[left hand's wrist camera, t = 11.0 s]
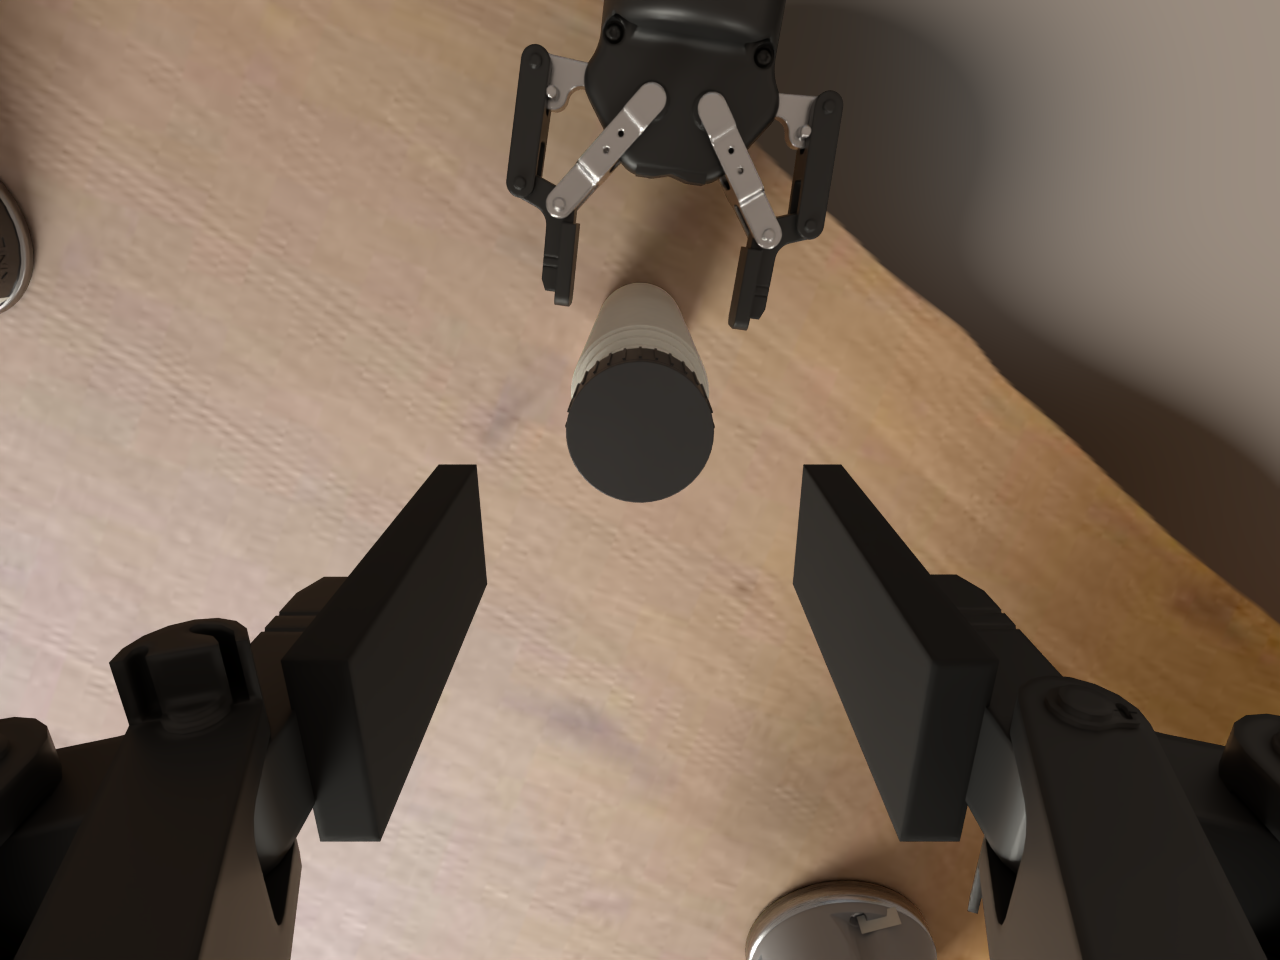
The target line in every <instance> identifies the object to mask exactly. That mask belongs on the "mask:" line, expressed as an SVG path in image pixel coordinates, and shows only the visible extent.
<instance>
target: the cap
mask: <svg viewBox="0 0 1280 960" xmlns="http://www.w3.org/2000/svg"><path fill="white" fill-rule="evenodd" d="M567 412H569V414H568V418H567V422H566V425H565V427H566V439H567V445H568V449H569V453H570V456H571V458H572V460H573V463H574V465H575V466H576V468H577V469H578V471H579V472H580V474H581V475H582V476H583V477H584V479H585V480H586V481H588V482H589V483H590V484H591V485H592V486H593V487H595V488H596V489H597V490H599V491H600V492H602V493H604V494H606V495H608V496H610V497H613V498H615V499H619V500H622V501H628V502H639V503H644V502H653V501H657V500H662V499H664V498H667V497H670V496H672V495H674V494H676V493H678V492H680V491H681V490H683V489H684V488H686V487H687V486H688V485H689V484H690V483H692V482H693V481H694V480H695V478H696V477H697V476H698V475H699V474H700V472H701V471H702V469H703V468H704V466H705V464H706V462H707V460H708V458H709V456H710V453H711V450H712V445H713V438H714V428H715V426H714V423H713V419H712V414H711V413H713V411H712V408H711V405H710V403H709V400H708V397H707V394H706V392H705V389H704V386H703V384H700V383H699V381H698V379H697V376H696V374H695V372H694V371H693V372H692V371H691V370H690V369H689V368H688V367H687V366H686V365H685V362H684V361H682V362H681V361H680V360H678V359H677V358H675V357H673V356H672V354H671V353H669V354H667V353H665V352H662V351H658V350H657V348H654V349H649V348H642V346H639V348H632V349H626V348H624V349H623V350H621V351H618V352H615V353H613V354H612V353H609V356H607V357H605V358H603V359H602V360H600V361H598V360H597V361H596V363H595V365H594V366H593V367H592V368H591V369H590V370H589V371H586V372H585V374H584V377H583V379H582V381H581V383H578V384H577V386H576V389H575V392H574V395H573V397H572V400H571V402H570V405H569V408H568V411H567Z"/></svg>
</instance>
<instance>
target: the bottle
mask: <svg viewBox="0 0 1280 960" xmlns="http://www.w3.org/2000/svg"><path fill="white" fill-rule="evenodd" d="M639 346H642V348H649V349H654V348H657V350H658V351H662V352H665V353H667V354H669V353H671V354H672V356H673V357H675V358H677V359H678V360H680V361H681V362H682V361H684V362H685V365H686V366H687V367H688V368H689V369H690V370H691V371H692V372H693V371H694V372H695V374H696V376H697V379H698V381H699V383H700V384H703V386H704V389H705V392H706V394H707V397H708V398H709V386H708V379H707V374H706V371H705V369H704V366H703V363H702V361H701V359H700V356H699V354H698V352H697V349H696V347H695V344H694V342H693V340H692V337H691V335H690V333H689V330H688V328H687V326H686V323H685V321H684V319H683V316H682V314H681V311H680V309H679V307H678V305H677V303H676V302H675V300H674V299H673V298H672V297H671V296H670V294H668V293H667V292H666V291H665V290H663V289H662V288H660V287H658V286H656V285H652V284H649V283H631V284H627V285H625V286H622V287H620V288H618V289H617V290H615V291H614V292H613V293H612V294H611V295H610V296H609V297H608V298H607V299H606V300H605V302H604V303H603V305H602V307H601V309H600V312H599V314H598V316H597V319H596V321H595V323H594V326H593V328H592V331H591V333H590V335H589V338H588V340H587V342H586V345H585V347H584V349H583V352H582V354H581V357H580V359H579V361H578V364H577V366H576V369H575V371H574V375H573V379H572V386H571V398H572V397H573V395H574V392H575V389H576V386H577V384H578V383H581V381H582V379H583V377H584V374H585V372H586V371H589V370H590V369H591V368H592V367H593V366H594V365H595V363H596V361H597V360H598V361H600V360H602V359H603V358H605V357H607V356H609V353H612V354H613V353H615V352H618V351H621V350H623V349H624V348H626V349H632V348H639Z"/></svg>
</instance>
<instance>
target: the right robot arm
mask: <svg viewBox="0 0 1280 960" xmlns="http://www.w3.org/2000/svg"><path fill="white" fill-rule="evenodd" d="M785 2H786V0H604V6H603V16H602V25H601V35H600V40H599V43H598V46H597V49H596V51H595V53H594V55H593V56H592V58H591V59H590V61H589V62H588V63H587V62H582V61H578V60H574V59H569V58H565V57H561V56H556V55H552V54H549V53H548V52H547V50H546V49H545V48H544V47H542V46H541V45H538V44H532V45H529V46H527V47H526V48H525V49H524V51H523V53H522V56H521V64H520V72H519V81H518V89H517V97H516V105H515V114H514V122H513V130H512V138H511V147H510V155H509V163H508V171H507V180H506V184H507V188H508V190H509V192H510V193H511V194H512V195H514V196H515V197H518V198H521V199H523V200H524V201H526V202H528V203H530V204H532V205H534V206H535V207H537V208H539V209H540V210H541V211H542V213H543V214H544V216H545V219H546V236H545V248H544V260H543V272H542V281H543V284H544V288H545V290H547V291H554V292H555V298H554V304H555V305H562V306H570V305H571V303H572V298H573V289H574V279H575V269H576V259H577V249H578V239H579V230H580V224H579V223H576V215H577V210H578V209H579V208H580V207H581V206H582V205H583V204H584V203H585V201H586V200H587V199H588V198H589V197H590V196H591V195H592V194H593V193H594V191H595V190H596V189H597V188H598V187H599V186H600V185H601V184H602V183H603V182H604V181H605V180H606V179H607V178H608V177H609V176H610V175H611V174H612V173H613V171H614V170H615V169H616V168H617V167H618V166H619V165H620V164H622V165H623V166H624V167H625V168H626V169H627V170H628V171H630V172H631V173H633V174H635V175H636V176H638V177H645V178H651V179H652V178H660V177H667V176H669V177H672V178H674V179H676V180H678V181H680V182H683V183H685V184H691V185H698V186H702V185H704V184H708V183H711V182H714V181H716V180H718V181H719V183H720V185H721V187H722V189H723V191H724V193H725V195H726V197H727V199H728V201H729V203H730V204H731V206H732V207H733V209H734V211H735V213H736V215H737V217H738V219H739V221H740V223H741V226H742V228H743V230H744V232H745V234H746V236H747V238H748V240H747V246H746V247H741V251H740V257H739V262H738V268H737V273H736V279H735V284H734V290H733V295H732V301H731V306H730V312H729V319H728V324H729V326H730V327H731V328H732V329H739V330H747V328H748V325H749V321H750V318H752V319H759V318H760V317H761V315H762V314H763V312H764V310H765V307H766V302H767V296H768V292H769V287H770V282H771V277H772V272H773V267H774V262H775V257H776V254H777V252H778V251H779V250H780V249H781V248H782V247H783V246H784V245H786V244H789V243H794V242H798V241H803V240H807V239H808V240H810V239H814V238H816V237H818V236H819V235H820V234H821V232H822V231H823V228H824V222H825V216H826V210H827V204H828V197H829V191H830V185H831V179H832V172H833V166H834V160H835V154H836V148H837V141H838V135H839V129H840V123H841V116H842V110H843V101H842V98H841V96H840V95H839V94H838V93H837V92H835V91H825V92H823V93H822V94H820V95H819V96H805V95H793V94H782V93H779V92H778V89H777V86H776V81H775V73H774V65H775V58H776V52H777V46H778V41H779V36H780V30H781V24H782V19H783V13H784V8H785ZM582 89H583V90H585V91H586V93H587V96H588V98H589V101H590V103H591V105H592V107H593V109H594V111H595V113H596V115H597V117H598V119H599V121H600V123H601V125H602V127H603V129H604V131H603V132H602V133H601V134H600V135H599V136H598V137H597V139H596V140H595V141H594V142H593V143H592V144H591V145H590V147H589V148H588V149H587V150H586V151H585V152H584V153H583V154H582V156H581V157H580V158H579V159H578V161H577V162H576V164H575V165H574V166H573V168H572V169H571V170H570V171H569V172H568V173H567V174H566V176H565V177H564V178H563V179H562V180H561V181H560V182H559V183H558V185H557V186H556V185H554V184H552V183H551V182H549V181H547V180H545V179H543V178H542V174H543V167H544V159H545V152H546V145H547V137H548V130H549V123H550V116H551V112H555V113H557V112H561V111H563V110H564V109H565V108H566V107H567V105H568V102H569V99H570V96H571V95H572V94H573V93H574V92H575V91H577V90H582ZM774 120H777V121H779V122H780V123H781V124H782V125H783V127H784V131H785V141H786V143H787V145H788V146H789V147H790V148H792V149H794V150H797V153H796V160H795V167H794V174H793V181H792V188H791V195H790V202H789V209H788V214H787V215H782V216H778V217H775V215H774V212H773V210H772V208H771V206H770V204H769V202H768V199H767V197H766V195H765V192H764V187H763V184H762V182H761V179H760V177H759V175H758V173H757V171H756V168H755V166H754V164H753V162H752V160H751V158H750V155H749V153H748V151H747V149H748V148H749V147H750V146H751V145H752V144H753V143H754V142H755V141H756V140H757V139H758V137H759V136H760V135H761V134H762V133H763V132H764V131H765V130H766V129H767V128H768V127H769V125H770V124H771V123H772V122H773V121H774ZM32 270H33V246H32V241H31V236H30V232H29V229H28V226H27V224H26V221H25V219H24V216H23V214H22V212H21V210H20V208H19V206H18V205H17V203H16V201H15V200H14V198H13V197H12V195H11V194H10V192H9V191H8V190H7V189H6V187H5V186H4V185H3V184H2V182H1V181H0V314H1V313H3V312H5V311H6V310H8V309H9V308H11V307H12V306H13V305H14V304H16V303H17V302H18V301H19V299H20V298H21V297H22V296H23V294H24V292H25V291H26V289H27V287H28V285H29V282H30V279H31V275H32Z"/></svg>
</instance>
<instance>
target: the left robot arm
mask: <svg viewBox="0 0 1280 960" xmlns="http://www.w3.org/2000/svg"><path fill="white" fill-rule="evenodd" d="M486 585H487V577H486V565H485V554H484V543H483V532H482V521H481V510H480V498H479V487H478V476H477V465H438V466H437V467H436V469H435V470H434V471H433V472H432V474H431V475H430V476H429V477H428V479H427V480H426V481H425V482H424V484H423V485H422V486H421V487H420V488H419V490H418V491H417V492H416V493H415V495H414V496H413V497H412V498H411V500H410V501H409V502H408V503H407V505H406V506H405V507H404V508H403V509H402V511H401V512H400V513H399V514H398V516H397V517H396V518H395V519H394V521H393V522H392V523H391V524H390V526H389V527H388V528H387V529H386V530H385V532H384V533H383V534H382V535H381V537H380V538H379V539H378V540H377V542H376V543H375V544H374V545H373V547H372V548H371V549H370V550H369V552H368V553H367V554H366V555H365V556H364V558H363V559H362V560H361V561H360V563H359V564H358V565H357V566H356V568H355V569H354V570H353V571H352V573H351V574H350V575H349V576H348V577H323V578H321V579H320V580H318V581H316V582H314V583H313V584H311V585H309V586H308V587H306V588H304V589H303V590H301V591H299V592H297V593H296V594H295V595H294V596H293V597H292V599H291V600H290V601H289V602H288V603H287V604H286V605H285V606H284V607H283V608H282V610H281V611H280V612H279V616H275V617H274V618H273V619H272V621H271V622H270V623H269V624H268V625H267V626H266V627H265V632H261V633H260V634H259V635H258V636H257V637H256V638H255V639H254V640H253V641H252V643H251V644H250V640H249V636H248V632H247V628H246V627H244V626H243V625H241V624H240V623H238V622H237V621H233V620H227V619H221V618H211V619H197V620H191V621H187V622H183V623H178V624H174V625H170V626H167V627H164V628H162V629H159V630H157V631H154V632H152V633H149V634H147V635H144V636H142V637H141V638H139V639H137V640H136V641H134V642H133V643H131V644H129V645H128V646H126V647H124V648H123V649H122V650H121V651H120V652H119V653H118V654H117V655H116V656H115V657H114V658H113V659H112V660H111V661H110V662H109V664H110V667H111V670H112V674H113V677H114V680H115V683H116V686H117V689H118V692H119V695H120V698H121V701H122V704H123V707H124V710H125V713H126V716H127V720H128V723H129V727H128V729H127V731H126V733H125V735H122V736H118V737H113V738H108V739H104V740H99V741H94V742H89V743H84V744H79V745H74V746H69V747H64V748H59V749H55V746H54V744H53V741H52V738H51V736H50V733H49V730H48V728H47V726H46V725H45V724H43V723H41V722H40V721H38V720H37V719H35V718H22V717H11V718H5V719H0V960H290V958H291V950H292V942H293V934H294V925H295V917H296V909H297V901H298V893H299V885H300V877H301V868H302V865H301V858H300V851H299V847H298V843H297V839H296V837H297V835H298V833H299V832H300V830H301V828H302V826H303V824H304V823H305V821H306V819H307V817H308V815H309V814H310V812H311V810H312V808H313V810H314V815H315V819H316V824H317V829H318V833H319V838H320V841H381V838H382V836H383V833H384V831H385V829H386V826H387V824H388V821H389V819H390V817H391V814H392V812H393V809H394V807H395V805H396V802H397V800H398V797H399V795H400V793H401V790H402V788H403V785H404V783H405V780H406V778H407V776H408V773H409V771H410V768H411V766H412V764H413V761H414V759H415V756H416V754H417V752H418V749H419V747H420V744H421V742H422V740H423V737H424V735H425V732H426V730H427V727H428V725H429V723H430V720H431V718H432V715H433V713H434V711H435V708H436V706H437V703H438V701H439V699H440V696H441V694H442V691H443V689H444V687H445V684H446V682H447V679H448V677H449V675H450V672H451V670H452V667H453V665H454V662H455V660H456V658H457V655H458V653H459V650H460V648H461V646H462V643H463V641H464V638H465V636H466V634H467V631H468V629H469V626H470V624H471V622H472V619H473V617H474V614H475V612H476V610H477V607H478V605H479V602H480V600H481V597H482V595H483V593H484V590H485V588H486ZM793 585H794V588H795V590H796V593H797V595H798V597H799V600H800V602H801V605H802V607H803V610H804V612H805V614H806V617H807V619H808V622H809V624H810V626H811V629H812V631H813V634H814V636H815V638H816V641H817V643H818V646H819V648H820V650H821V653H822V655H823V658H824V660H825V662H826V665H827V667H828V670H829V672H830V675H831V677H832V679H833V682H834V684H835V687H836V689H837V691H838V694H839V696H840V699H841V701H842V703H843V706H844V708H845V711H846V713H847V715H848V718H849V720H850V723H851V725H852V727H853V730H854V732H855V735H856V737H857V740H858V742H859V744H860V747H861V749H862V752H863V754H864V756H865V759H866V761H867V764H868V766H869V768H870V771H871V773H872V776H873V778H874V780H875V783H876V785H877V788H878V790H879V793H880V795H881V797H882V800H883V802H884V805H885V807H886V809H887V812H888V814H889V817H890V819H891V821H892V824H893V826H894V829H895V831H896V833H897V836H898V838H899V841H960V838H961V833H962V829H963V824H964V819H965V815H966V810H967V806H969V808H970V810H971V812H972V814H973V815H974V817H975V819H976V821H977V823H978V824H979V826H980V828H981V830H982V832H983V833H984V839H983V843H982V847H981V851H980V856H979V860H978V864H977V868H976V873H975V877H974V881H973V885H972V890H971V894H970V899H969V906H968V911H970V912H973V913H977V914H978V910H979V906H980V902H981V898H982V899H983V907H984V915H985V924H986V932H987V940H988V948H989V956H990V960H1280V716H1277V715H1271V714H1257V715H1246V716H1244V717H1243V718H1241V719H1239V720H1238V721H1236V722H1235V723H1234V725H1233V728H1232V730H1231V733H1230V736H1229V738H1228V741H1227V744H1226V746H1222V745H1217V744H1212V743H1207V742H1202V741H1197V740H1192V739H1187V738H1182V737H1177V736H1172V735H1167V734H1163V733H1159V732H1155V731H1154V730H1153V728H1152V726H1151V724H1150V723H1149V722H1148V720H1147V719H1146V718H1145V717H1144V715H1143V714H1142V713H1141V712H1140V710H1139V709H1138V708H1136V707H1135V706H1133V705H1132V704H1131V703H1129V702H1128V701H1126V700H1125V699H1124V698H1122V697H1121V696H1119V695H1117V694H1115V693H1113V692H1111V691H1109V690H1107V689H1105V688H1102V687H1100V686H1098V685H1096V684H1093V683H1089V682H1086V681H1082V680H1078V679H1075V678H1071V677H1063V676H1062V675H1061V674H1060V673H1059V672H1058V671H1057V670H1056V669H1055V668H1054V667H1053V665H1052V664H1051V663H1050V662H1049V661H1048V660H1047V659H1046V658H1045V657H1044V656H1043V655H1042V653H1041V652H1040V651H1039V650H1038V649H1037V648H1036V647H1035V646H1034V645H1033V644H1032V643H1031V641H1030V640H1029V639H1028V638H1027V637H1026V636H1025V635H1024V634H1023V633H1022V632H1021V631H1020V629H1016V625H1015V624H1014V623H1013V622H1012V621H1011V620H1010V619H1009V618H1008V616H1007V615H1006V614H1005V613H1001V609H1000V608H999V607H998V606H997V604H996V603H995V602H994V601H993V600H992V599H991V598H990V597H989V596H988V595H987V594H986V592H985V591H984V590H982V589H980V588H978V587H977V586H975V585H973V584H972V583H970V582H968V581H966V580H965V579H963V578H961V577H960V576H958V575H930V574H929V573H928V571H927V570H926V569H925V568H924V566H923V565H922V564H921V563H920V561H919V560H918V559H917V558H916V556H915V555H914V554H913V553H912V552H911V550H910V549H909V548H908V547H907V545H906V544H905V543H904V542H903V540H902V539H901V538H900V537H899V535H898V534H897V533H896V532H895V530H894V529H893V528H892V527H891V526H890V524H889V523H888V522H887V521H886V519H885V518H884V517H883V516H882V514H881V513H880V512H879V511H878V509H877V508H876V507H875V506H874V505H873V503H872V502H871V501H870V500H869V498H868V497H867V496H866V495H865V493H864V492H863V491H862V490H861V488H860V487H859V486H858V485H857V484H856V482H855V481H854V480H853V479H852V477H851V476H850V475H849V474H848V472H847V471H846V470H845V469H844V467H843V466H842V465H803V476H802V487H801V498H800V510H799V521H798V532H797V543H796V554H795V565H794V577H793ZM745 953H746V960H937V953H936V948H935V945H934V942H933V940H932V937H931V935H930V932H929V930H928V927H927V925H926V922H925V920H924V918H923V916H922V914H921V913H920V911H919V910H918V909H917V908H916V906H915V905H914V904H913V903H911V902H910V901H909V900H908V899H907V898H905V897H904V896H902V895H901V894H899V893H897V892H895V891H893V890H891V889H888V888H886V887H883V886H880V885H876V884H872V883H866V882H859V881H832V882H825V883H820V884H815V885H811V886H808V887H804V888H802V889H799V890H796V891H794V892H792V893H790V894H788V895H786V896H784V897H782V898H780V899H779V900H777V901H776V902H774V903H773V904H772V905H770V906H769V907H768V908H767V909H766V910H765V911H764V912H763V913H762V914H761V915H760V916H759V917H758V918H757V920H756V921H755V922H754V924H753V925H752V927H751V929H750V931H749V934H748V937H747V941H746V947H745Z"/></svg>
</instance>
